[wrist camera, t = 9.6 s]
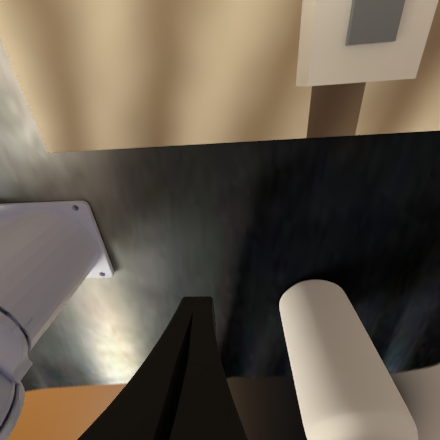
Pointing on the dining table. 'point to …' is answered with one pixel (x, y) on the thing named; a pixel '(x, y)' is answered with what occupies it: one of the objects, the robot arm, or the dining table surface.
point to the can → (339, 369)
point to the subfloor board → (193, 75)
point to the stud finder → (362, 40)
